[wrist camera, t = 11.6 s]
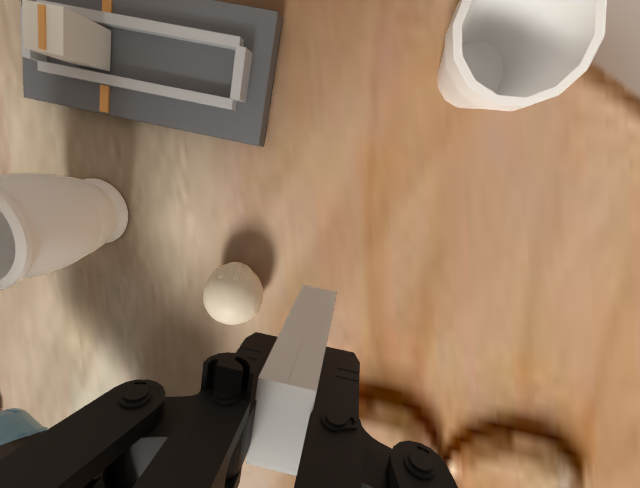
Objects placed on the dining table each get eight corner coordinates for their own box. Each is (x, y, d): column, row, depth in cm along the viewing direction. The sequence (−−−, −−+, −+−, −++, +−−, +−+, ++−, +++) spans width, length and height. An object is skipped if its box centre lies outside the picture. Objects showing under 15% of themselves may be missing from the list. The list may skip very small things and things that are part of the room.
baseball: (271, 258, 43) (254, 276, 36) (268, 312, 45) (251, 338, 38) (218, 252, 43) (192, 268, 37) (217, 305, 45) (193, 330, 39)
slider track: (263, 146, 39) (252, 145, 36) (39, 100, 41) (6, 94, 38) (282, 19, 36) (272, 2, 32) (37, -25, 38) (0, -45, 34)
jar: (126, 164, 42) (1, 168, 28) (146, 246, 44) (40, 289, 30) (51, 174, 44) (-105, 183, 29) (73, 253, 46) (-60, 297, 32)
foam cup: (530, 27, 33) (628, -51, 21) (507, 127, 36) (583, 111, 23) (430, 20, 34) (466, -58, 22) (414, 119, 37) (439, 99, 24)
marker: (108, 113, 39) (107, 112, 39) (100, 111, 39) (99, 111, 39) (113, -16, 35) (111, -17, 35) (104, -18, 35) (102, -18, 35)
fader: (110, 71, 37) (61, 55, 31) (76, 64, 38) (21, 47, 32) (111, 30, 36) (61, 5, 30) (76, 23, 37) (20, -2, 31)
